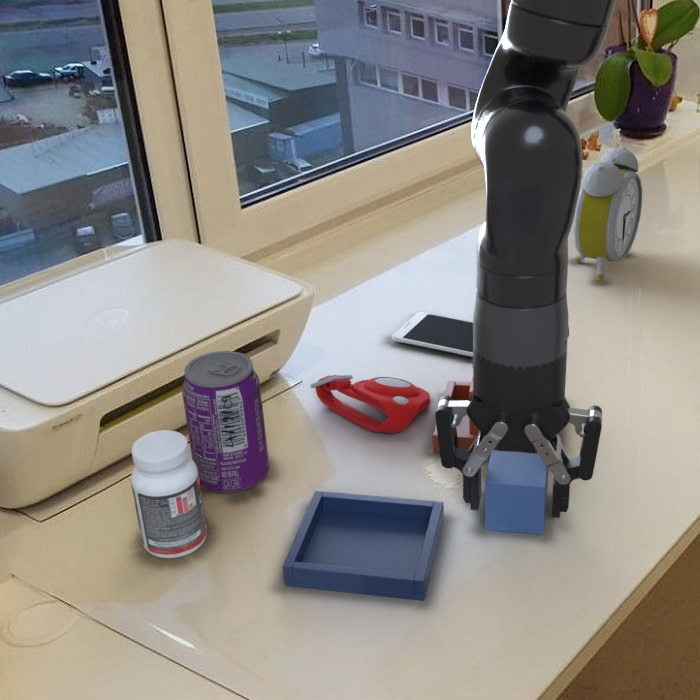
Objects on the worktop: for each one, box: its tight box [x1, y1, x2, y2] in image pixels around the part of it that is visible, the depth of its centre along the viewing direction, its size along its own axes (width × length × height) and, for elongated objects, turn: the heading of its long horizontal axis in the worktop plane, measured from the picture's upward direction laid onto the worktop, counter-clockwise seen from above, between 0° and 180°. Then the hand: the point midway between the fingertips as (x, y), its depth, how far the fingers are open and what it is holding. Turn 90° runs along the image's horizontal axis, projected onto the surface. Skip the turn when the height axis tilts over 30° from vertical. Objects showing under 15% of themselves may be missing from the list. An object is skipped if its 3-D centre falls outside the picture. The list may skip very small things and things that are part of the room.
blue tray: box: [282, 490, 445, 602], centre depth 90 cm, size 12×11×2 cm
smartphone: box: [391, 311, 473, 359], centre depth 123 cm, size 8×1×15 cm
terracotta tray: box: [432, 380, 538, 458], centre depth 106 cm, size 12×11×2 cm
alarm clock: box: [573, 146, 643, 282], centre depth 136 cm, size 12×7×15 cm, turn 148°
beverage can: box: [181, 350, 270, 493], centre depth 99 cm, size 7×7×12 cm
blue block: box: [484, 450, 549, 536], centre depth 93 cm, size 5×5×5 cm
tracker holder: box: [310, 374, 431, 434], centre depth 109 cm, size 12×4×10 cm
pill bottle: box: [130, 429, 208, 559], centre depth 91 cm, size 6×6×10 cm
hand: (515, 508), depth 94 cm, fingers open, 6 cm apart
